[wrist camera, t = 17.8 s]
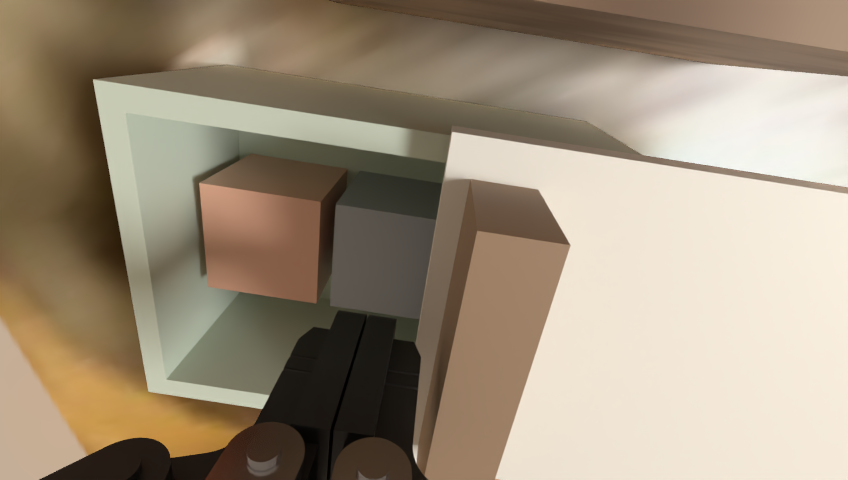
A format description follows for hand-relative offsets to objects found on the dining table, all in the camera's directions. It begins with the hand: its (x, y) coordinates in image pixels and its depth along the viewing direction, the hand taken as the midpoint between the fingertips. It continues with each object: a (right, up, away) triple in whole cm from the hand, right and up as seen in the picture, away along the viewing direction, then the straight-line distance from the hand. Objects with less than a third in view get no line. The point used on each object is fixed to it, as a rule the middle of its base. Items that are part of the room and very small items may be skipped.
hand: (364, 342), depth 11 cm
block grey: (+1, +3, +7) cm, 8 cm away
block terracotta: (-4, +4, +7) cm, 9 cm away
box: (0, +4, +8) cm, 9 cm away
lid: (+9, -1, +2) cm, 9 cm away
